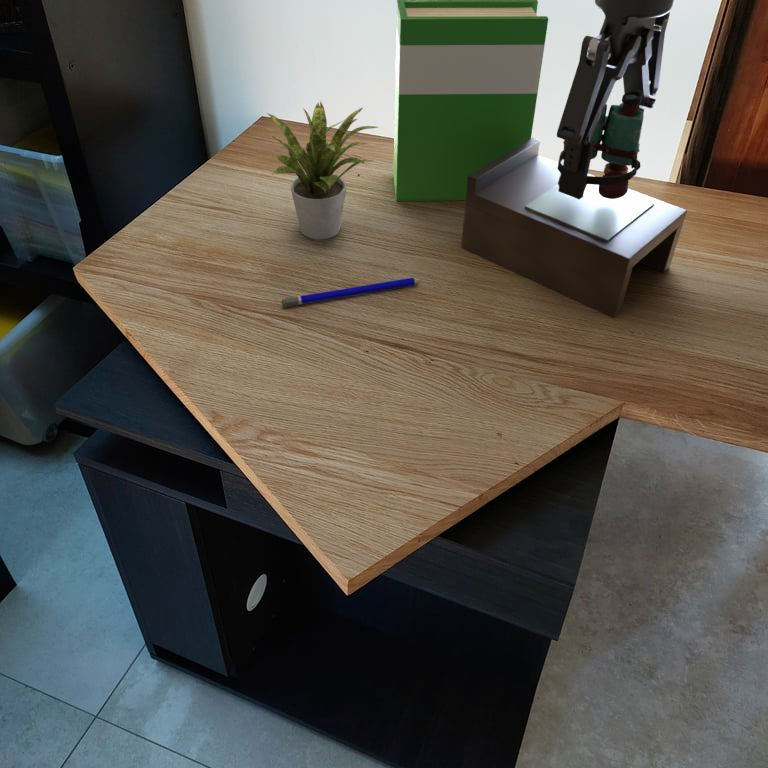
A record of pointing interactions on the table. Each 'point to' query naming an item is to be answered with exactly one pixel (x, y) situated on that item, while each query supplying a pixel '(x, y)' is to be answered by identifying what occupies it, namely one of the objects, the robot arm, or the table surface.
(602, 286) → the shelf
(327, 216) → the house plant
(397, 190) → the hardback book
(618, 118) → the binoculars
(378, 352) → the table surface
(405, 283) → the pencil
